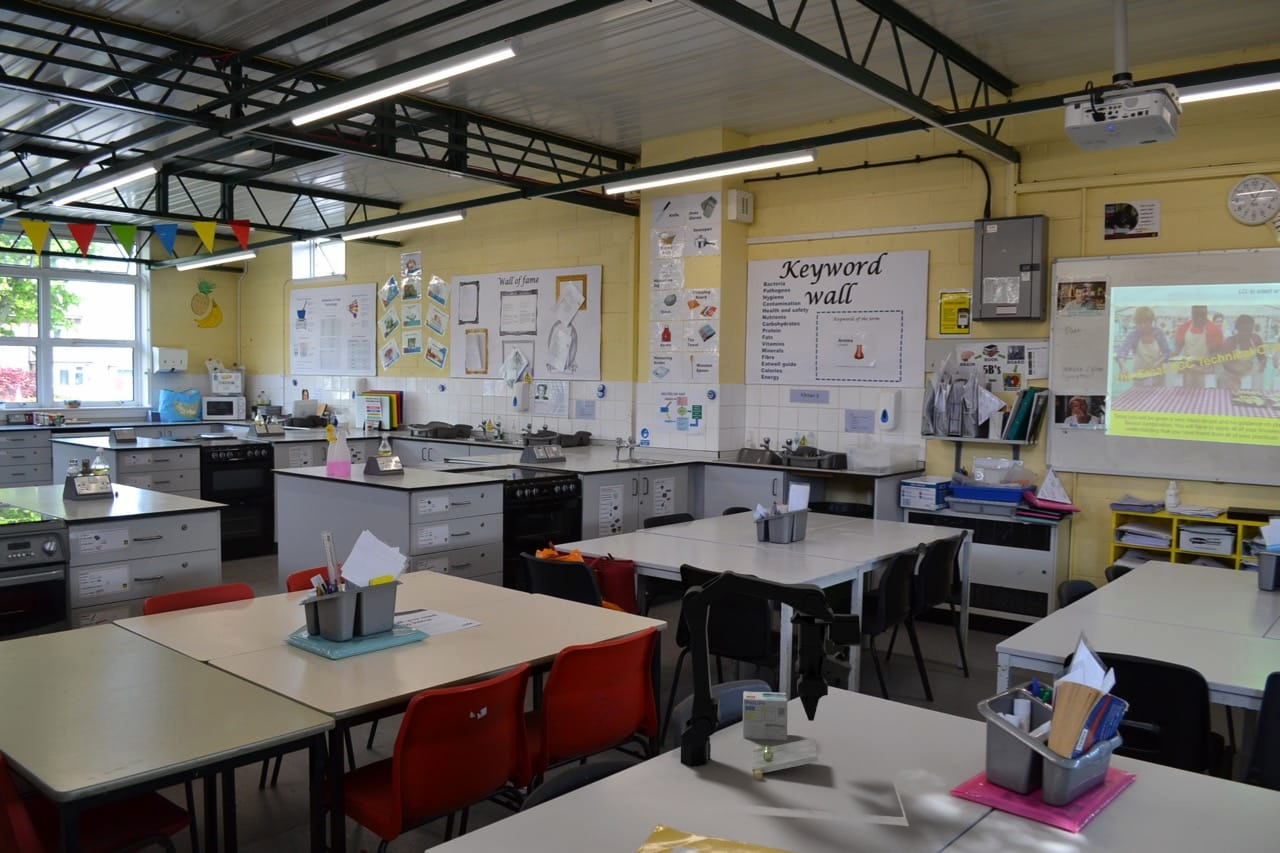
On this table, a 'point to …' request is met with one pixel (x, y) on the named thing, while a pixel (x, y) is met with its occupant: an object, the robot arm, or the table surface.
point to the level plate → (785, 756)
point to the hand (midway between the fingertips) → (810, 715)
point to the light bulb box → (765, 715)
